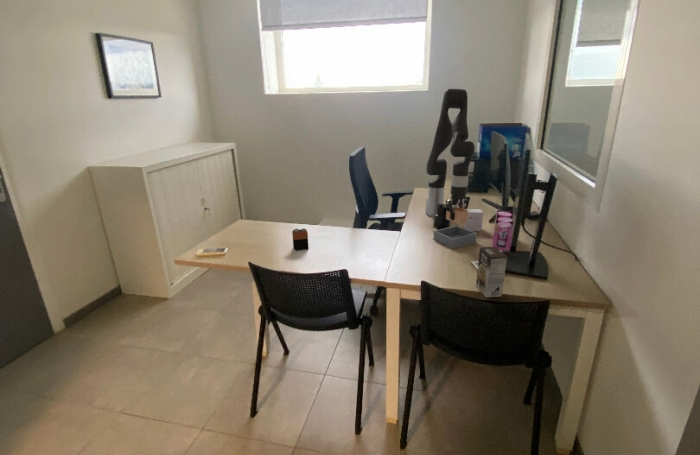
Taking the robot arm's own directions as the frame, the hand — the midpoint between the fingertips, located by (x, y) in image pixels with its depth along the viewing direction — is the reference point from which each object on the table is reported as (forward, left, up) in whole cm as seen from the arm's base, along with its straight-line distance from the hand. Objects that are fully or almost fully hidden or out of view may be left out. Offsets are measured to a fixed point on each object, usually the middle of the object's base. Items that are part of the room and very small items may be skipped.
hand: (456, 218), depth 184 cm
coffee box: (+43, -25, -12) cm, 51 cm away
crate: (0, 0, -12) cm, 12 cm away
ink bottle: (-19, +9, -12) cm, 24 cm away
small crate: (0, 0, -1) cm, 1 cm away
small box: (-7, +20, -12) cm, 24 cm away
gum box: (+14, +17, -12) cm, 25 cm away
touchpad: (+30, -12, -12) cm, 35 cm away
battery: (-31, -69, -12) cm, 77 cm away
